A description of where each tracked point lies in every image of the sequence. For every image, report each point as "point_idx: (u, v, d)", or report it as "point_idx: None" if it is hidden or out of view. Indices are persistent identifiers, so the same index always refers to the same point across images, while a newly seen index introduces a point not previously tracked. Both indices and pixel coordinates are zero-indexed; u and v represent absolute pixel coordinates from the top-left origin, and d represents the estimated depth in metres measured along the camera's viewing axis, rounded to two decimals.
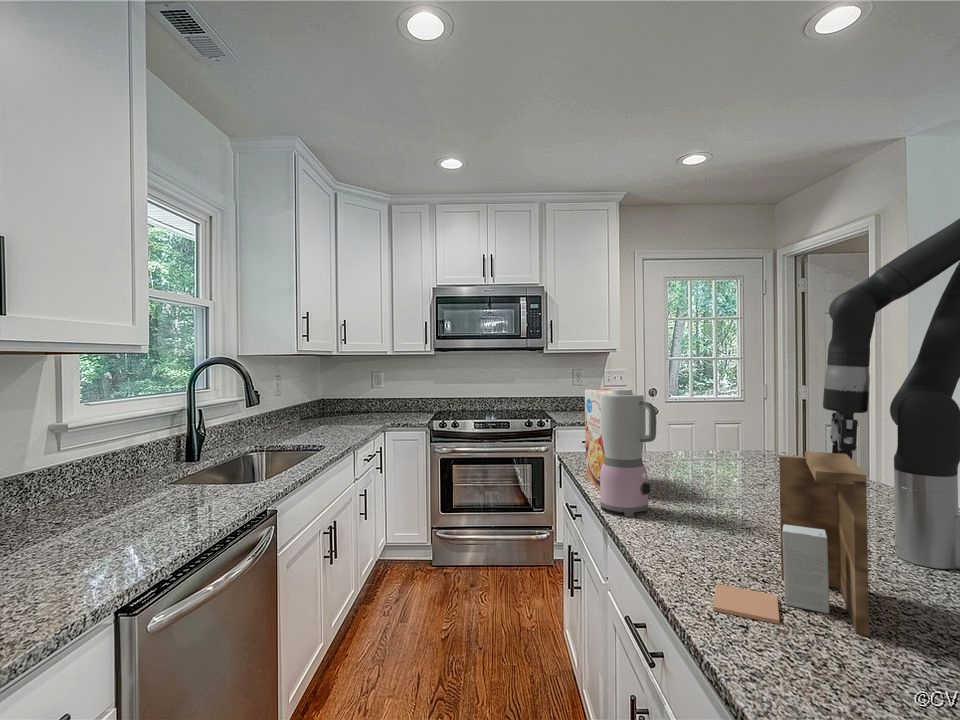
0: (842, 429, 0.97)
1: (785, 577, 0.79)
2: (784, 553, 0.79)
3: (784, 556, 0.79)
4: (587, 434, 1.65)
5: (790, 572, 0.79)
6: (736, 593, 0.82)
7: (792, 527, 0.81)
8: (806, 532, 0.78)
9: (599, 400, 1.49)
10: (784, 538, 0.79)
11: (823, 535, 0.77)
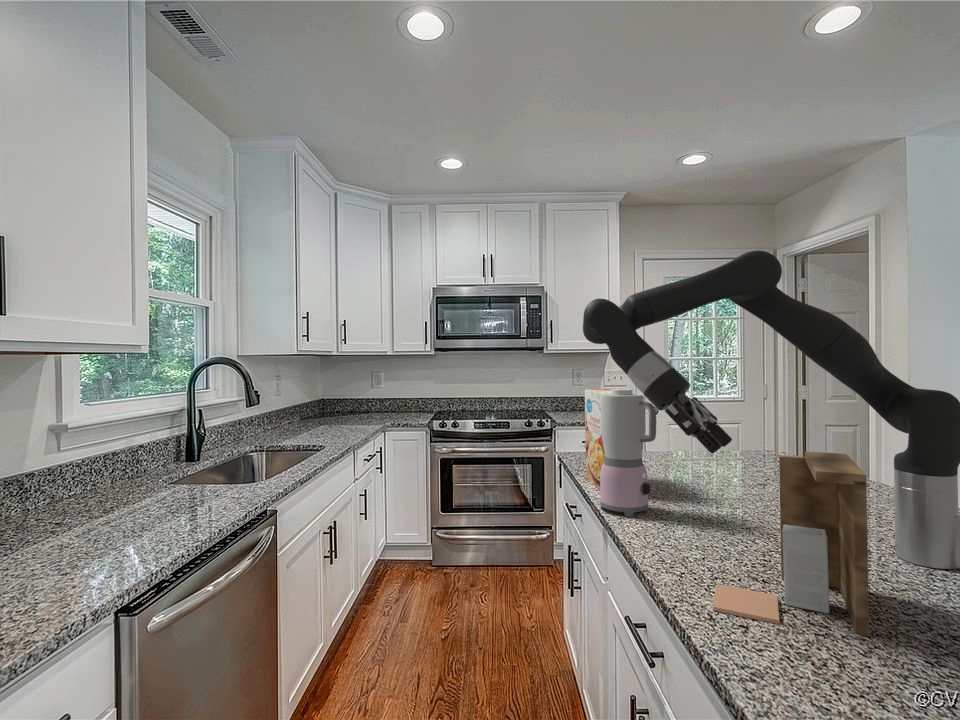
0: (672, 418, 0.86)
1: (785, 577, 0.79)
2: (784, 553, 0.79)
3: (784, 556, 0.79)
4: (587, 434, 1.65)
5: (790, 572, 0.79)
6: (736, 593, 0.82)
7: (792, 527, 0.81)
8: (805, 532, 0.78)
9: (599, 400, 1.49)
10: (784, 538, 0.79)
11: (823, 535, 0.77)
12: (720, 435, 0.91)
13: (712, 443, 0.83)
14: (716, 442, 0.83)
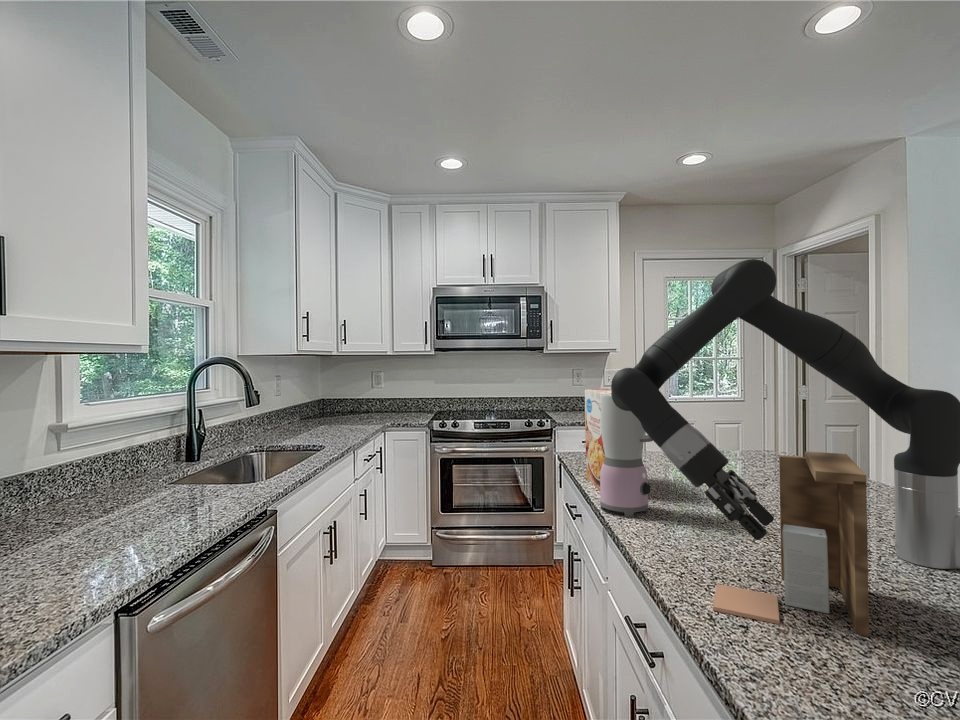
0: (713, 502, 0.82)
1: (785, 577, 0.79)
2: (784, 553, 0.79)
3: (784, 556, 0.79)
4: (587, 434, 1.65)
5: (790, 572, 0.79)
6: (736, 593, 0.82)
7: (792, 527, 0.81)
8: (806, 532, 0.78)
9: (599, 400, 1.49)
10: (784, 538, 0.79)
11: (823, 535, 0.77)
12: (761, 513, 0.87)
13: (757, 530, 0.79)
14: (761, 529, 0.79)
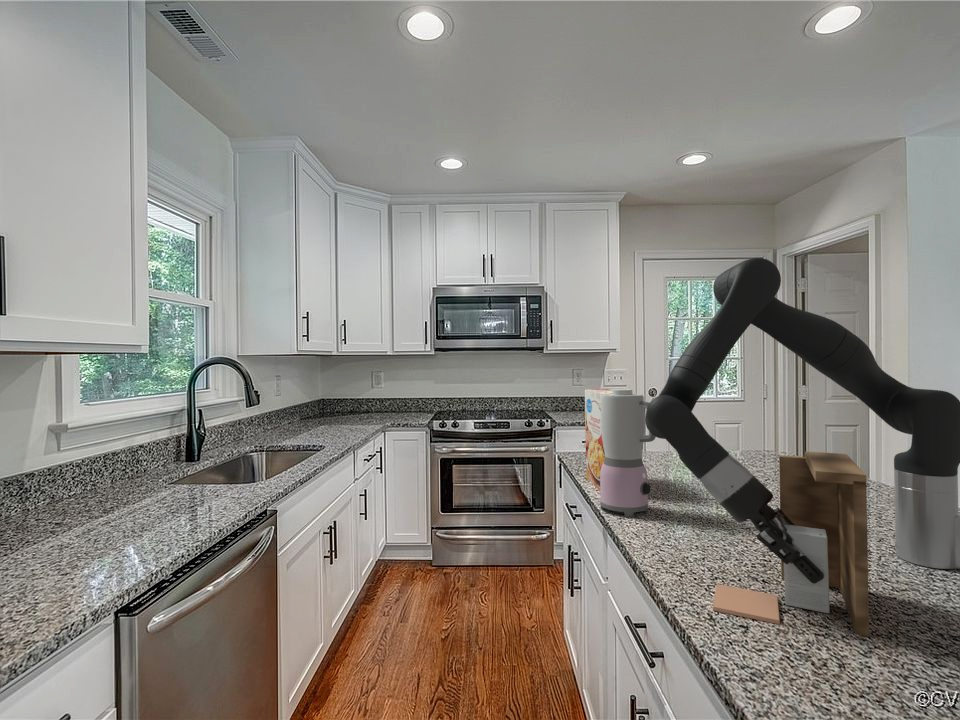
0: (768, 547, 0.77)
1: (785, 577, 0.79)
2: None
3: None
4: (587, 434, 1.65)
5: (790, 572, 0.79)
6: (736, 593, 0.82)
7: (792, 527, 0.81)
8: (806, 532, 0.78)
9: (599, 400, 1.49)
10: (784, 538, 0.79)
11: (823, 535, 0.77)
12: None
13: (814, 573, 0.76)
14: (818, 572, 0.76)
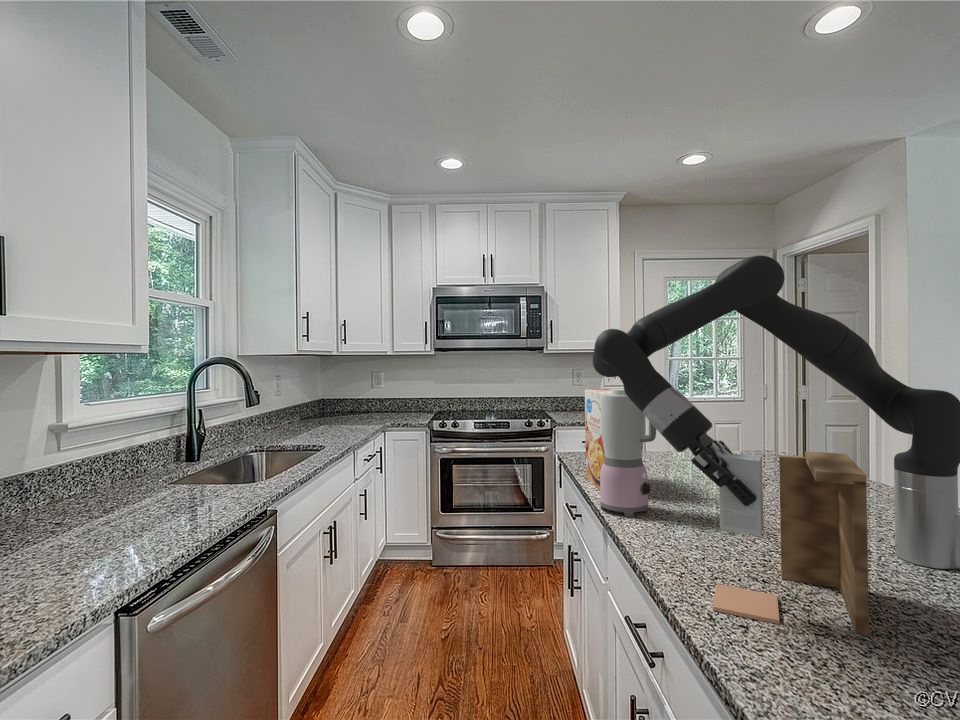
0: (702, 470, 0.78)
1: (720, 502, 0.80)
2: None
3: None
4: (587, 434, 1.65)
5: (725, 497, 0.80)
6: (736, 593, 0.82)
7: (730, 454, 0.82)
8: (741, 457, 0.79)
9: (599, 400, 1.49)
10: (720, 464, 0.80)
11: (756, 459, 0.78)
12: None
13: (746, 495, 0.77)
14: (751, 494, 0.77)
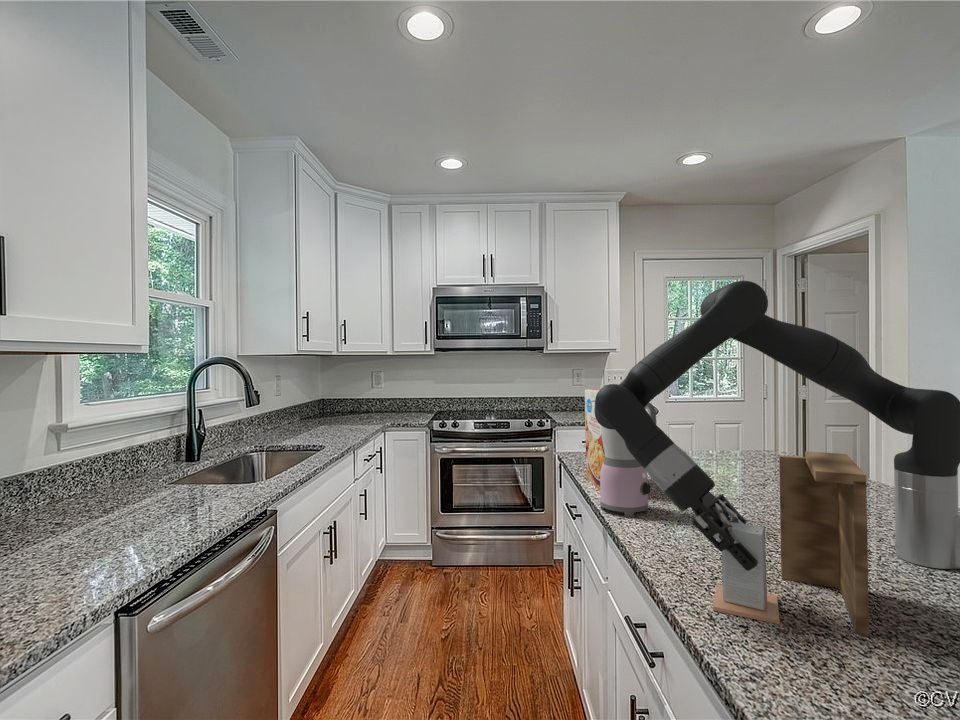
0: (702, 532, 0.78)
1: (723, 573, 0.80)
2: None
3: (722, 552, 0.80)
4: (587, 434, 1.65)
5: (727, 568, 0.79)
6: None
7: (732, 524, 0.81)
8: (743, 529, 0.79)
9: None
10: None
11: (759, 532, 0.77)
12: None
13: (748, 560, 0.76)
14: (752, 559, 0.76)
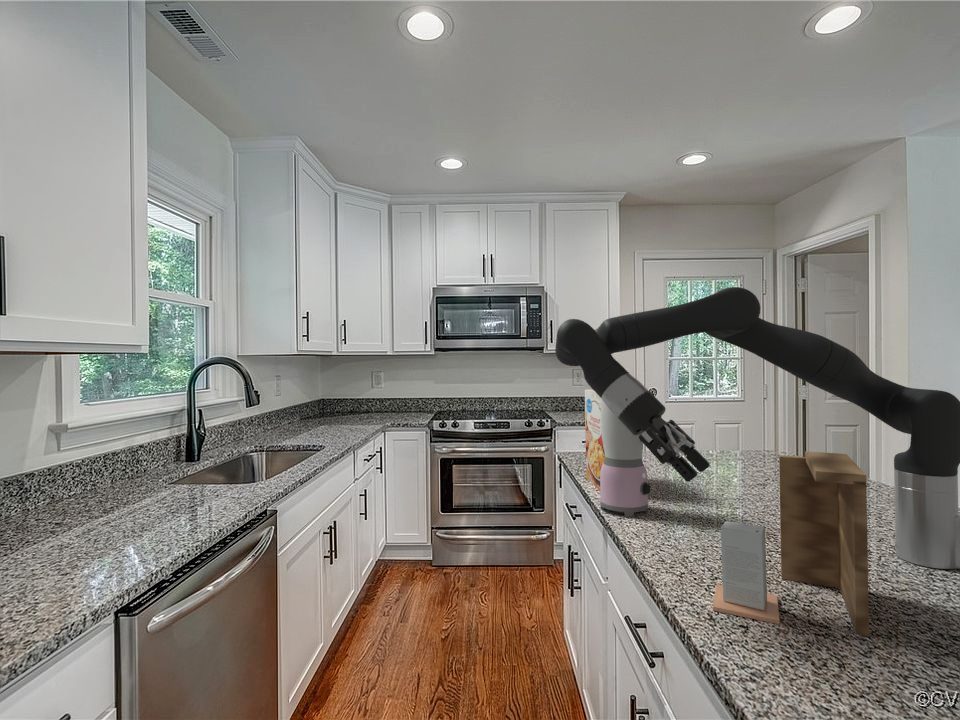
0: (646, 445, 0.82)
1: (723, 573, 0.80)
2: (722, 549, 0.80)
3: (722, 552, 0.80)
4: (587, 434, 1.65)
5: (727, 568, 0.79)
6: None
7: (732, 524, 0.81)
8: (743, 529, 0.79)
9: (599, 400, 1.49)
10: (722, 534, 0.80)
11: (759, 532, 0.77)
12: (697, 460, 0.88)
13: (687, 471, 0.80)
14: (692, 470, 0.80)
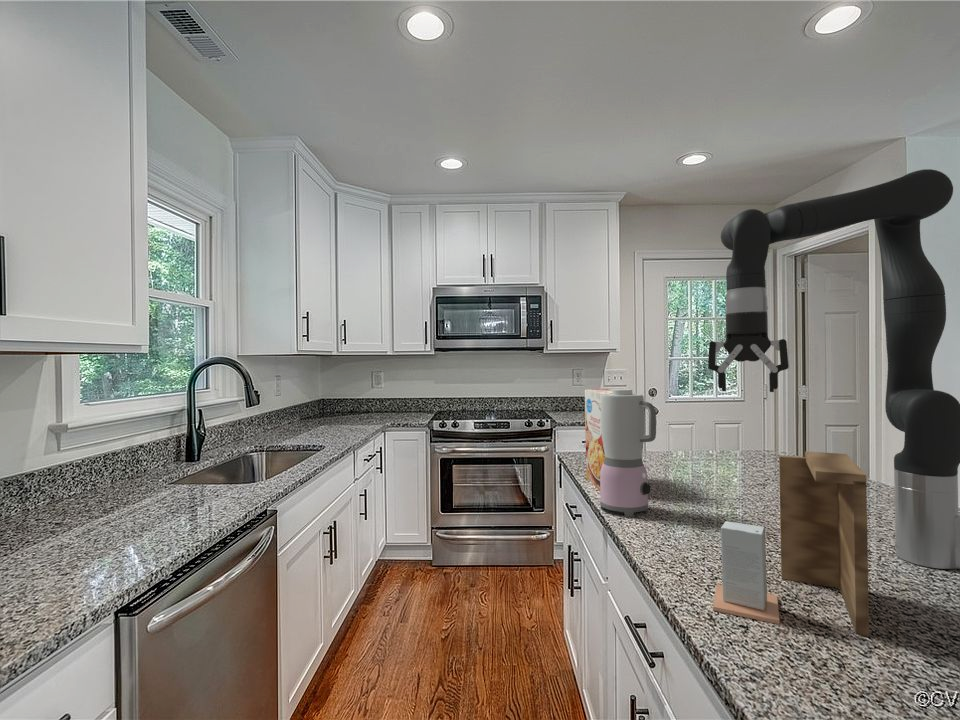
0: None
1: (723, 573, 0.80)
2: (722, 549, 0.80)
3: (722, 552, 0.80)
4: (587, 434, 1.65)
5: (727, 568, 0.79)
6: None
7: (732, 524, 0.81)
8: (743, 529, 0.79)
9: (599, 400, 1.49)
10: (722, 534, 0.80)
11: (759, 532, 0.77)
12: None
13: (718, 385, 1.02)
14: (722, 386, 1.02)
